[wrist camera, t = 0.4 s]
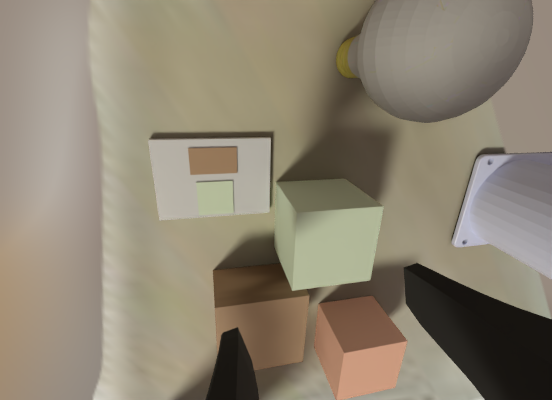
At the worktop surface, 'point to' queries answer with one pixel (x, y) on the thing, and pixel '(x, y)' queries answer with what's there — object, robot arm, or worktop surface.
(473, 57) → the light bulb
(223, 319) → the walnut block
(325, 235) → the sage block
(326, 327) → the terracotta block
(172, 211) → the card
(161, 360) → the worktop surface
